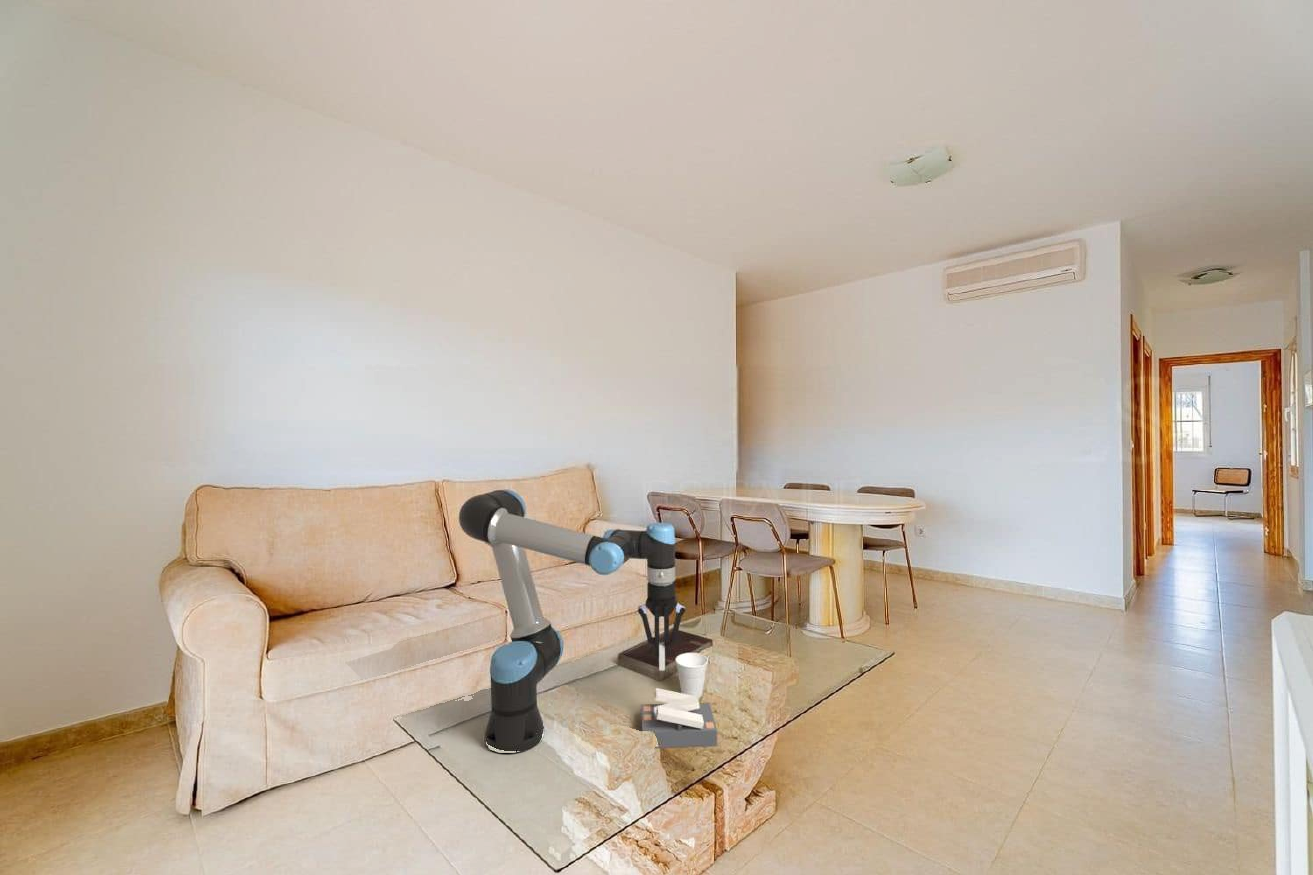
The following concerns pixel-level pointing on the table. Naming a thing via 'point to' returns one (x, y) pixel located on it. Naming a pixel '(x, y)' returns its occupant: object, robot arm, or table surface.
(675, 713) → the rocker
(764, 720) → the table surface
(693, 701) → the white block
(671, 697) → the rocker
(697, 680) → the cup
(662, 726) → the switch unit
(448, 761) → the table surface
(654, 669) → the dark brown tray
